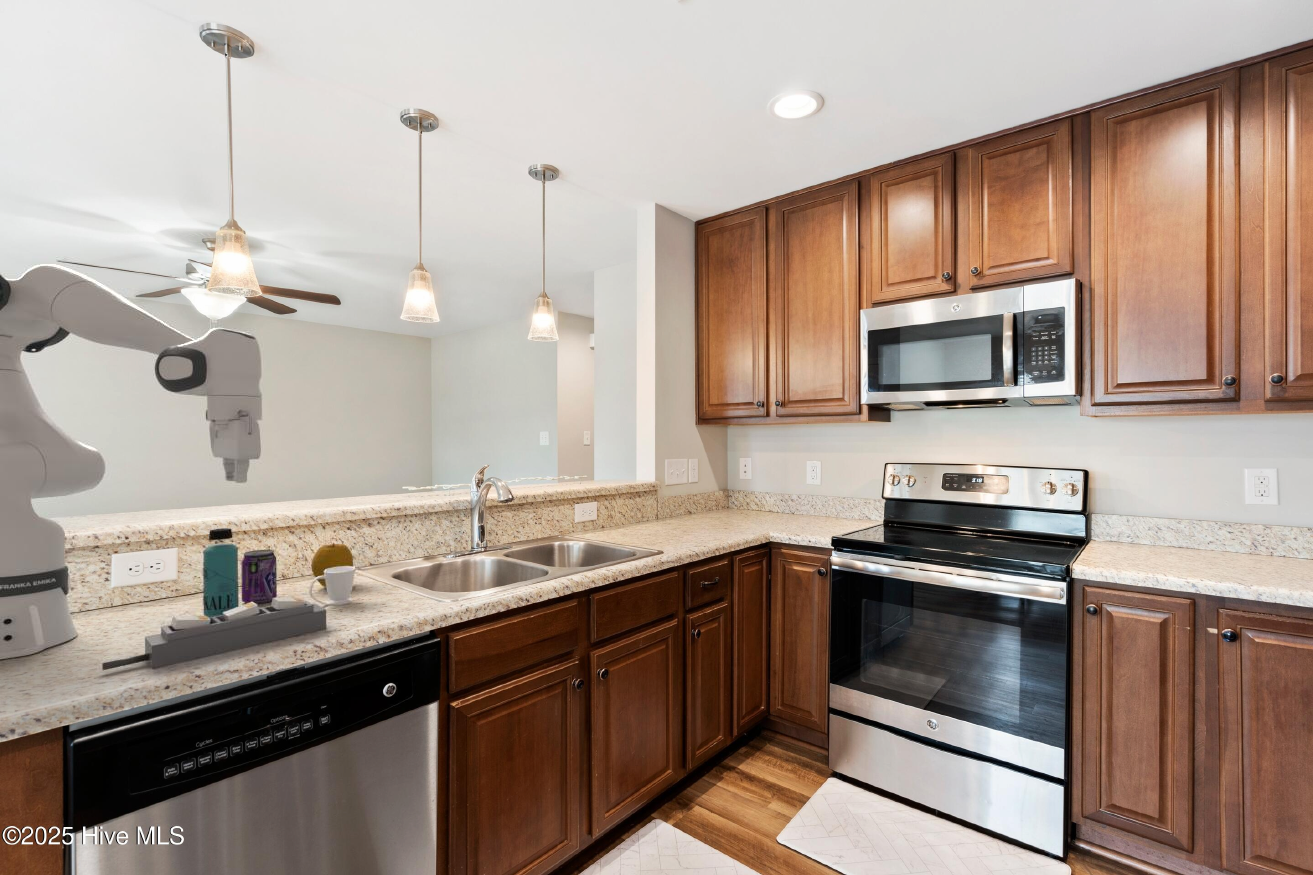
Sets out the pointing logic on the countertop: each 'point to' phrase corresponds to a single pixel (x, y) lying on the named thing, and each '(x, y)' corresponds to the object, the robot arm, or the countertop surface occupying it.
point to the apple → (330, 559)
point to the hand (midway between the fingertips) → (236, 481)
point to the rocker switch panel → (226, 635)
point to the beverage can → (259, 576)
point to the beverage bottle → (220, 574)
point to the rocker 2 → (241, 611)
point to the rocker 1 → (189, 621)
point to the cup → (337, 584)
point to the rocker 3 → (287, 603)
